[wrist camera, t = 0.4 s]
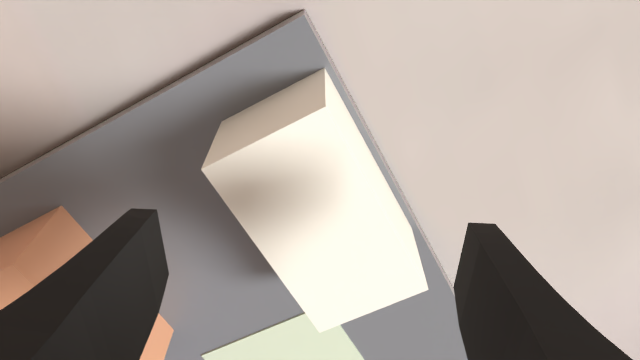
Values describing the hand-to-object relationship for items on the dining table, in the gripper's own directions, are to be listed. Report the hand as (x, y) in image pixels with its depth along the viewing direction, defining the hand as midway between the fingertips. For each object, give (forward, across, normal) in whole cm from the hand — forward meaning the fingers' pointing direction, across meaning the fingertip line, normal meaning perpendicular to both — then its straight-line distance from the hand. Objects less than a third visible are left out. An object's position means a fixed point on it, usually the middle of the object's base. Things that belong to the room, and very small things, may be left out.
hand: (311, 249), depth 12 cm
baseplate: (+9, +3, +12) cm, 15 cm away
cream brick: (+8, 0, +4) cm, 9 cm away
